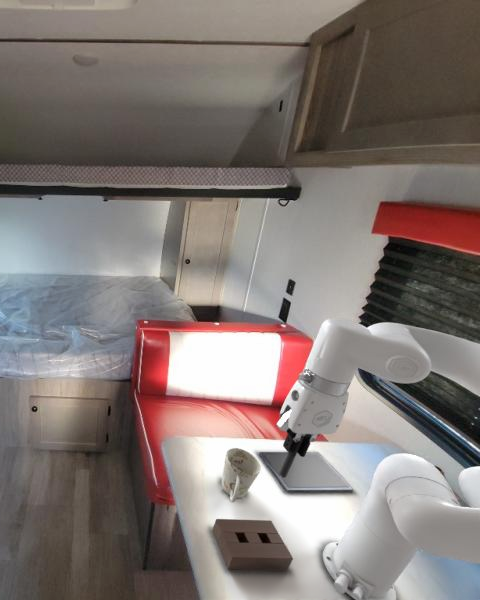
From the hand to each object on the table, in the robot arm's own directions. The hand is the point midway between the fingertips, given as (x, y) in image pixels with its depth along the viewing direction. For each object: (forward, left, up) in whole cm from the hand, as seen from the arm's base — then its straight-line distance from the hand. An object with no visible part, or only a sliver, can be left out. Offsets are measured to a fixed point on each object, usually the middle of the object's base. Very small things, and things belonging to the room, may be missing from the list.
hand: (293, 451), depth 72 cm
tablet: (+28, +2, -24) cm, 37 cm away
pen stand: (-8, -1, -24) cm, 25 cm away
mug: (+2, +9, -24) cm, 26 cm away
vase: (+53, -20, -24) cm, 62 cm away
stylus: (0, 0, -8) cm, 8 cm away
